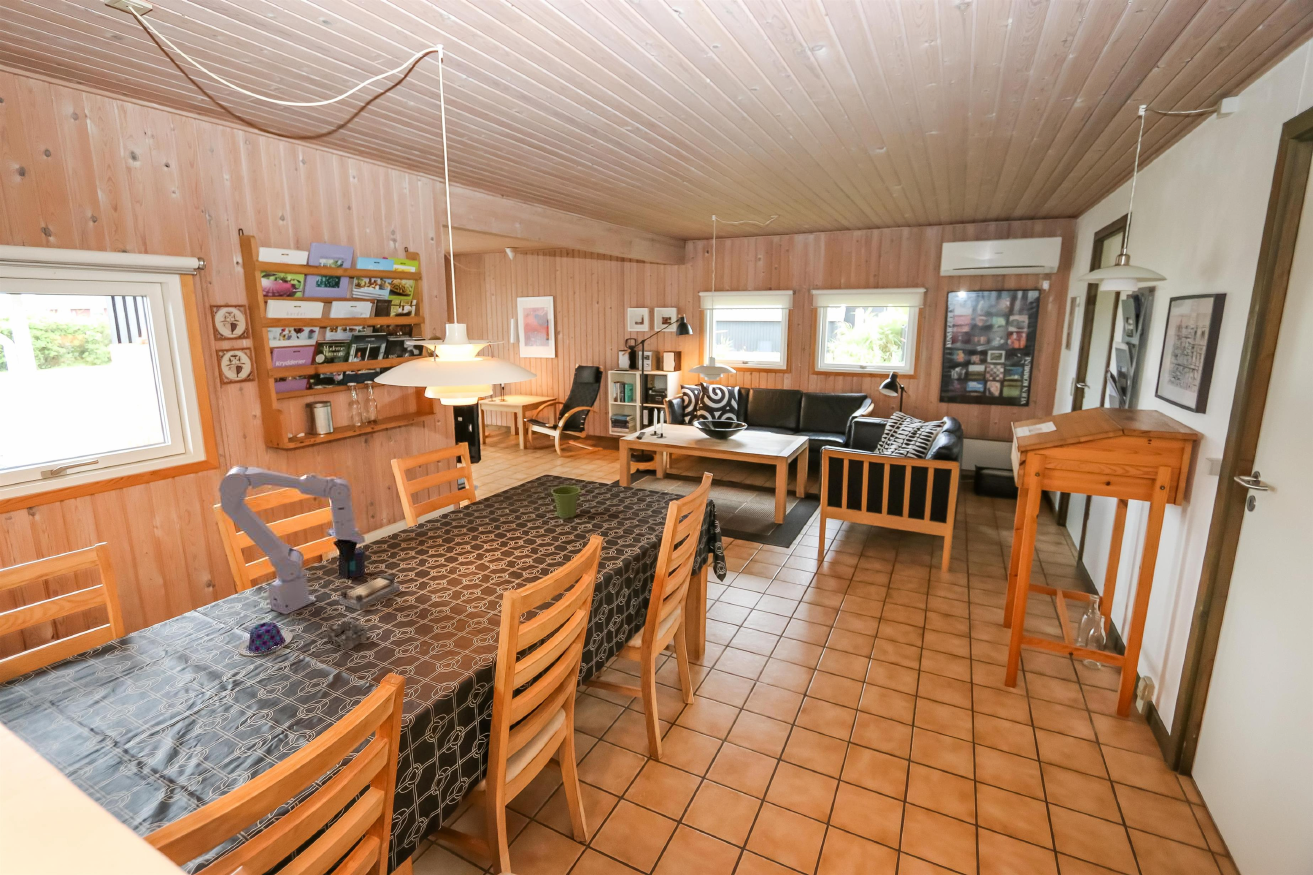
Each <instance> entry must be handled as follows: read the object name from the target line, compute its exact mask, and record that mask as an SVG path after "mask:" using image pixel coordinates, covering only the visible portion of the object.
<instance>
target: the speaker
mask: <svg viewBox="0 0 1313 875" xmlns="http://www.w3.org/2000/svg"><path fill="white" fill-rule="evenodd" d="M365 571H366V549H365V548H362V547H356V549H355V553H354V560H353V561H352V562H349V563H345V562H344V560H343V558H342V555H341V553H340V551H339V550H338V577H340V576H341V578H342V577H343V579H344V580H347V581H349V577H352V578H354V577H360V576H363V575H365V574H366V572H365Z"/></svg>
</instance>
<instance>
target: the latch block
mask: <svg viewBox="0 0 1313 875" xmlns="http://www.w3.org/2000/svg"><path fill="white" fill-rule="evenodd" d="M379 578H381V579H384V580H388V581H390V583H391V584H389V585H387V586H385V587H383V588H381V589H379V590H377V591H375V592H373V593H372V594H370V595H368V596H366V597H364V598H362V595H361V594H359V595H357V596H356V600H354V599H351V598H348V597H346V594H348V593H350V592H352V591H354V590H355V589H354V590H352V591H349V592H348V590H347V589H346V588H345V589H342V590H340V596H338V600H339V604H341V605H344V606H347V607H349V608H352V609H355V610H358V611H361V610H364V609H366V608H368V607H369V606H370V607H371V606H372V605H373V604H376V603H377V602H379V601H381V600H383V599H385V598H387V597H389V596H392V595H393V594H395V593H397V592H399V591H400V590H401V587H400V583H396V582H395V577H394V576H391V575H387V574H384V573H381V574H380V575H379Z"/></svg>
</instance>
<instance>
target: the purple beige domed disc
mask: <svg viewBox="0 0 1313 875" xmlns="http://www.w3.org/2000/svg"><path fill="white" fill-rule="evenodd" d="M283 635H284V637H287V638H285V640H286V642H285V643H284V644H283V642H284V637H283ZM292 639H293V633H292V632H291V631H288V630H285V629H281V630H280V627H279V626H278V624H276V623H275V622H274V621H265V622H263V623H262V622H261V623H259V624H256V625H255V626H253V627H252V628H251V629H250V632H249V638H248V639H246V640H245V641H243V642H242V643H241V644H240V646H239V647H238V652H239V653H240V654H241V655H243V656H253V657H254V656H260V655H262V654H254V655H253V654H247V653H245V652H244V651H245V649H243V648H244V647H245V646H246V645H247V644H248V642H249V646H248V648H247V650H249V652H250V651H252V652H253V651H254V652H259V651H262V650H264V651H263V652H265V650H269V649H271V648H272V647H274V646H278V645H280V644H283V646H282V647H281V648H283V647H285V646H286V645H288V644H289V643H290V642H291V641H292ZM282 641H283V642H282ZM281 642H282V643H281ZM278 647H279V646H278ZM281 648H279V649H281ZM279 649H276V650H273V649H272V650H273V651H271V652H268V653H264V654H263V655H265V654H269V653H272V652H275V651H277V650H279ZM254 652H253V653H254Z"/></svg>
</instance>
